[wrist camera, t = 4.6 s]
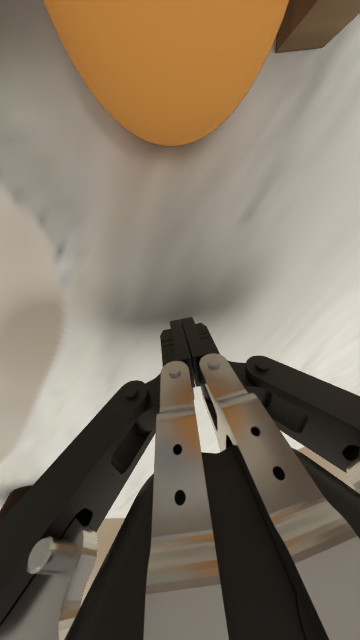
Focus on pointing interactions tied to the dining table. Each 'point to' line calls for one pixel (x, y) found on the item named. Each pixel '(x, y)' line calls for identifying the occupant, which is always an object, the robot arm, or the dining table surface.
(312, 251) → the dining table surface
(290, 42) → the bridge
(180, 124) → the ball
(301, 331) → the dining table surface
